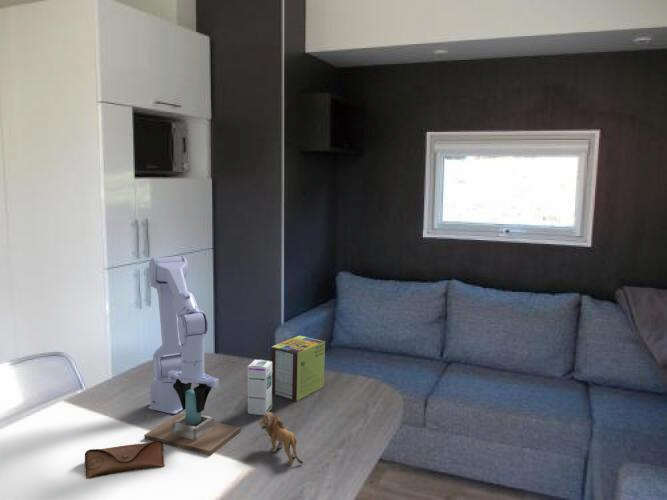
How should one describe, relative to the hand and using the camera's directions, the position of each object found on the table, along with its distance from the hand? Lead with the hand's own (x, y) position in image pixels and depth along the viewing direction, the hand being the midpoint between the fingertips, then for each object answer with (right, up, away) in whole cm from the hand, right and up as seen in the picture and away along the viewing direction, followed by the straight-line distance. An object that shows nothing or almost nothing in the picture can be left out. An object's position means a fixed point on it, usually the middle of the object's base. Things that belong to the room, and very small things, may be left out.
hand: (193, 409), depth 147 cm
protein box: (+25, -4, +34) cm, 42 cm away
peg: (0, -3, 0) cm, 3 cm away
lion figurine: (+23, -9, -7) cm, 26 cm away
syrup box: (+15, -6, +17) cm, 24 cm away
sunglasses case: (-12, -10, -14) cm, 21 cm away
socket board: (0, -7, +1) cm, 7 cm away
